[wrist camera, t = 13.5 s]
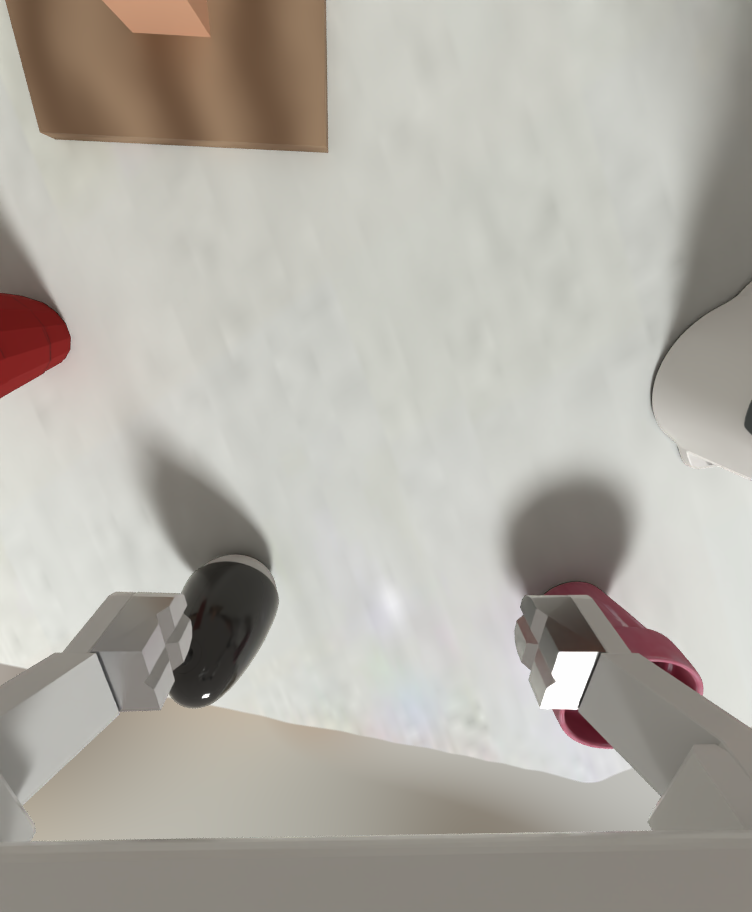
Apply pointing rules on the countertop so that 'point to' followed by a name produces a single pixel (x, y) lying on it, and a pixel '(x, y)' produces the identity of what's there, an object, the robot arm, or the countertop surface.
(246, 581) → the black glossy tall piece
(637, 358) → the countertop surface
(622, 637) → the plant pot
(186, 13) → the cube
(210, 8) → the walnut board
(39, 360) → the plastic cup
